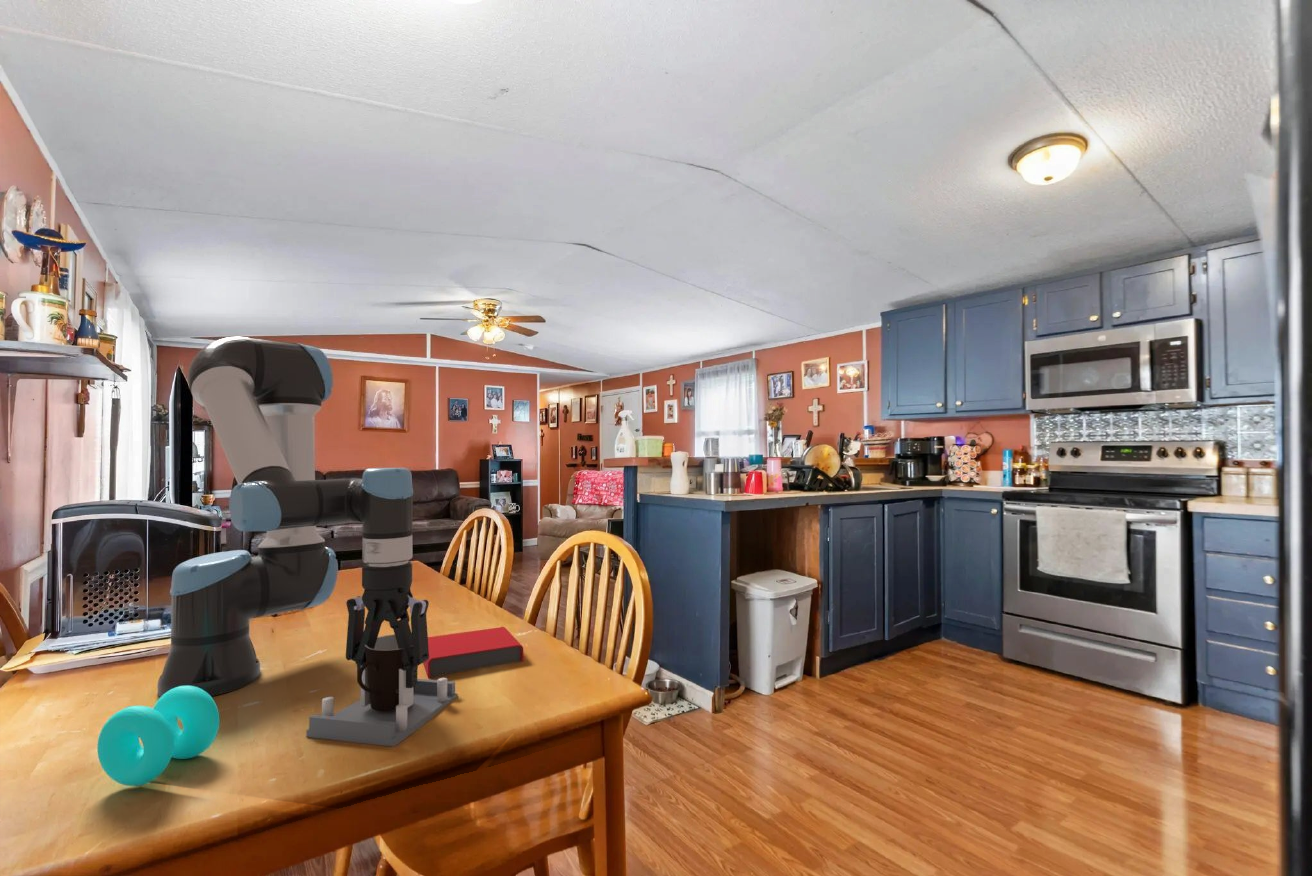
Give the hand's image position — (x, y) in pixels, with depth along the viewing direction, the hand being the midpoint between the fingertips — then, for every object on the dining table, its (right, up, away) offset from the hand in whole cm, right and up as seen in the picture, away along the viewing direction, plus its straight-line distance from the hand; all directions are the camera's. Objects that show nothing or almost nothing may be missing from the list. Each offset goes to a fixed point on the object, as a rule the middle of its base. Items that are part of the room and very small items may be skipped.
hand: (387, 704), depth 100 cm
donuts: (-24, -2, -16) cm, 29 cm away
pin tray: (0, -2, 0) cm, 2 cm away
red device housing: (+6, -3, +24) cm, 25 cm away
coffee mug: (-1, 0, 0) cm, 1 cm away
